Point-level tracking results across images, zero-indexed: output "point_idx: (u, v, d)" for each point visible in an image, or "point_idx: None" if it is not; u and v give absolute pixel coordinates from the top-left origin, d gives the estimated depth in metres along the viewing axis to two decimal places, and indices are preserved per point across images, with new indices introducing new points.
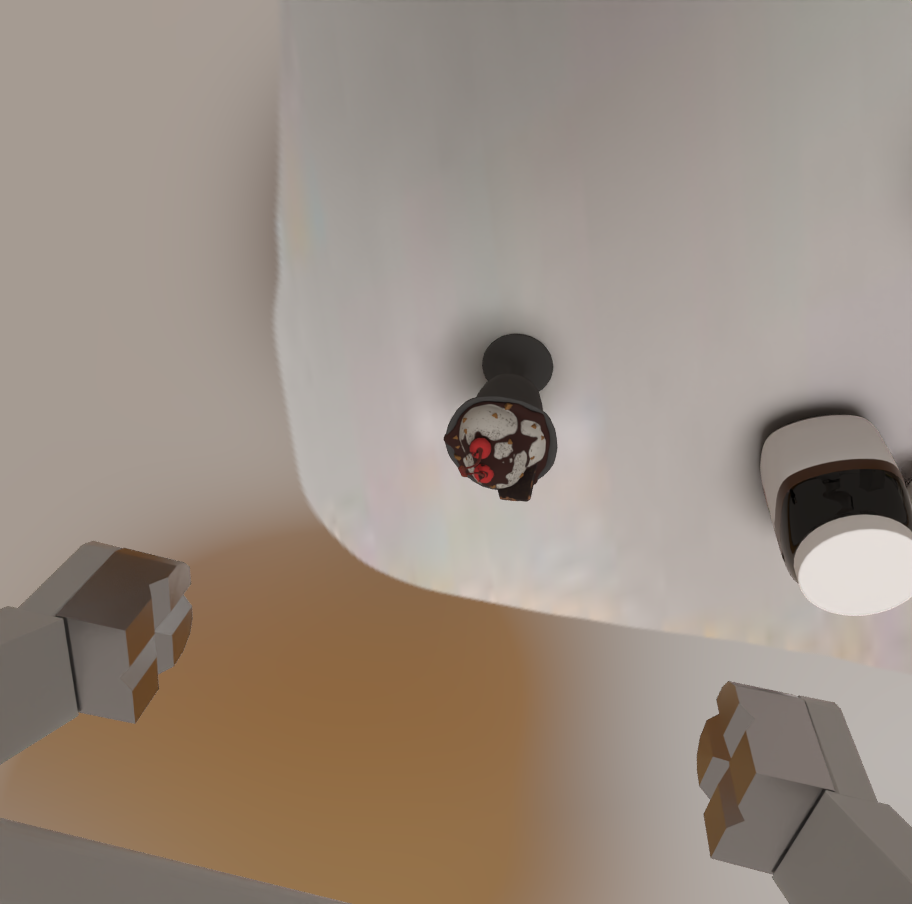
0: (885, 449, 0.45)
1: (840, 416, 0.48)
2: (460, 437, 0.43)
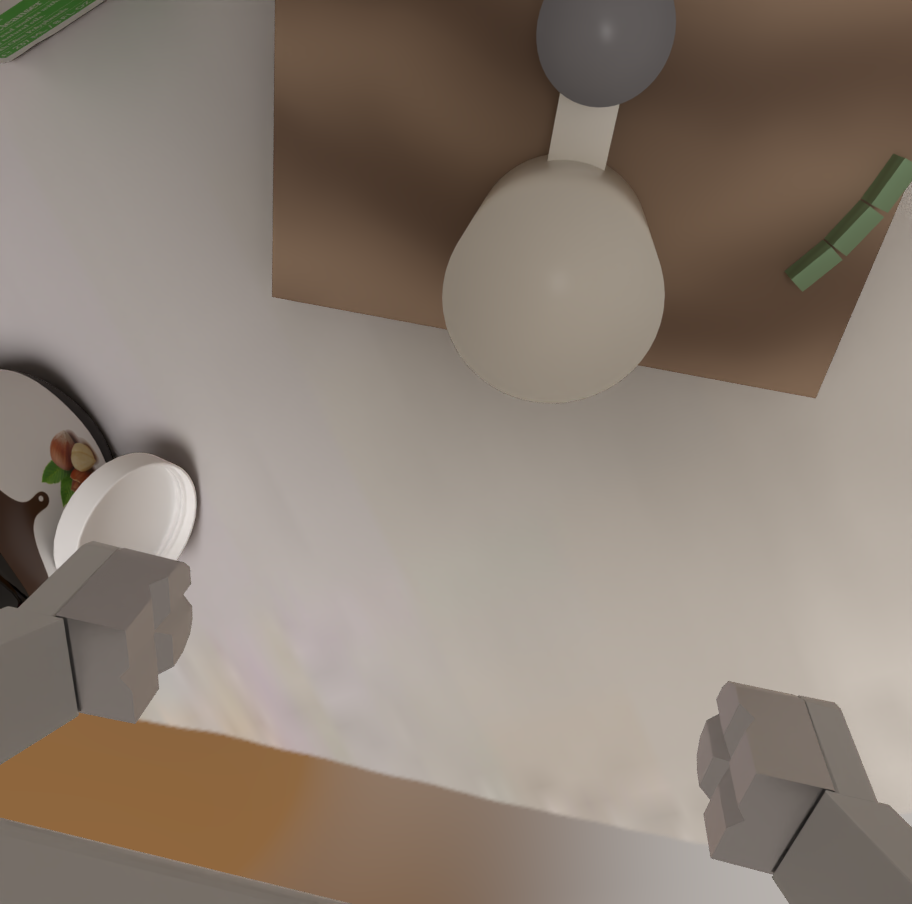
0: None
1: None
2: None
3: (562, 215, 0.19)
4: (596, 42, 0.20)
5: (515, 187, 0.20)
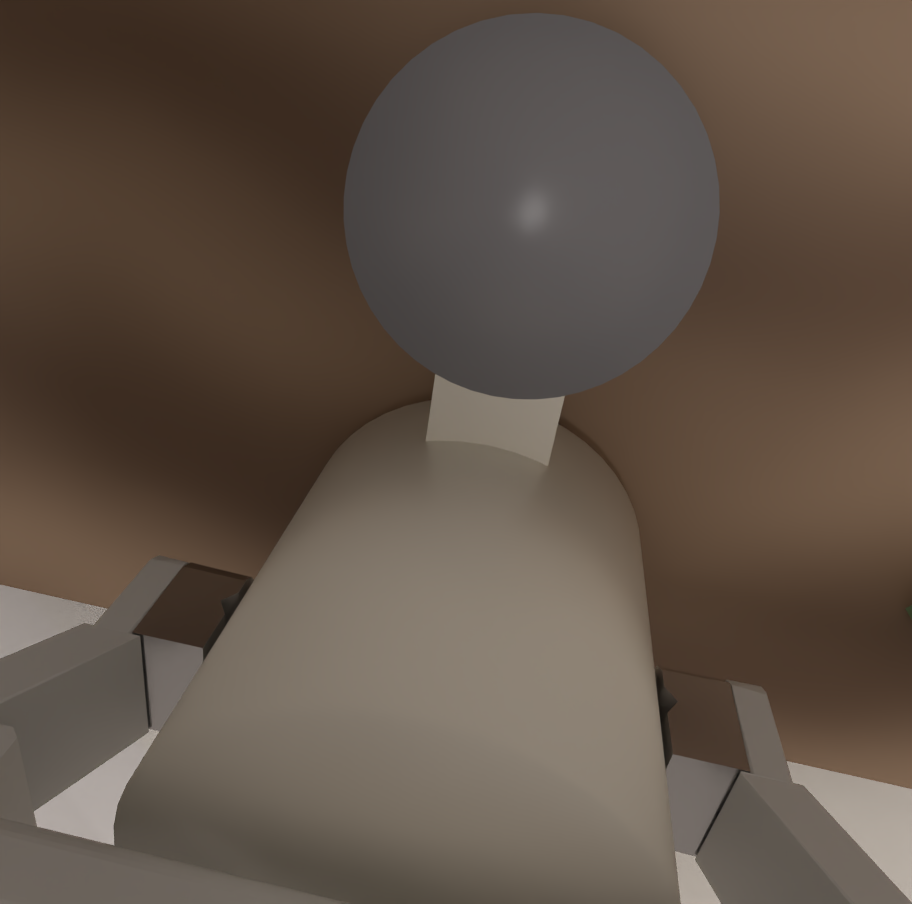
0: None
1: None
2: None
3: (394, 766, 0.07)
4: (502, 253, 0.07)
5: (299, 606, 0.08)
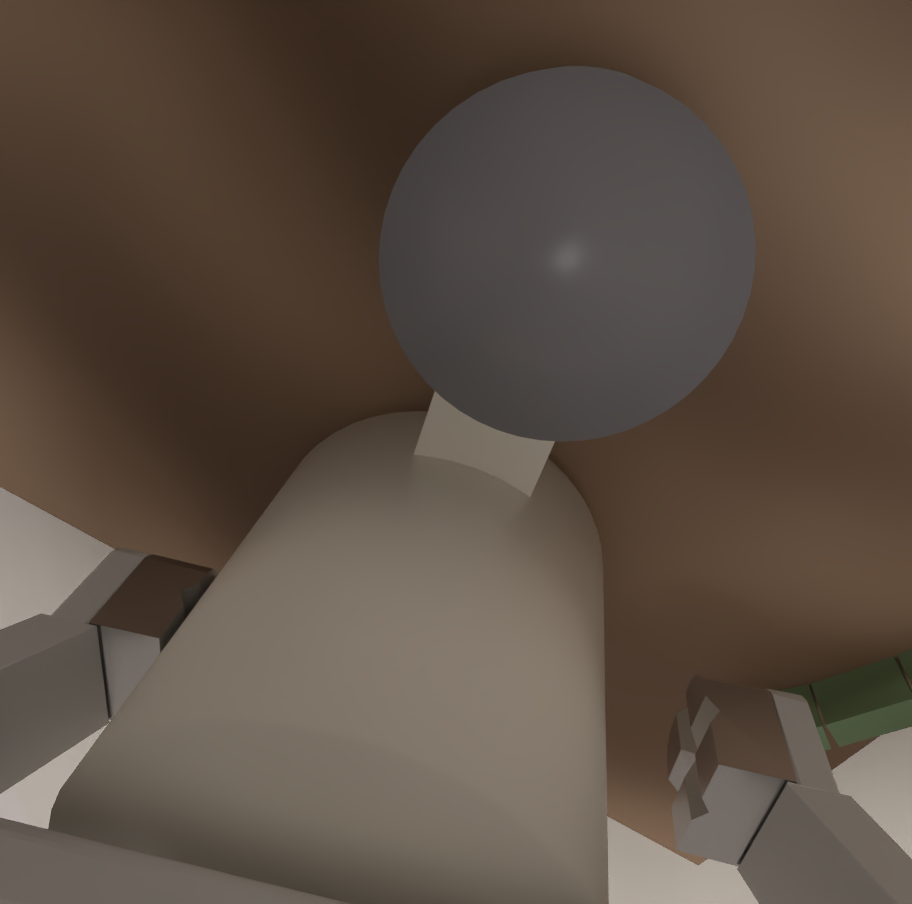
0: None
1: None
2: None
3: (355, 790, 0.07)
4: (533, 294, 0.07)
5: (275, 612, 0.08)
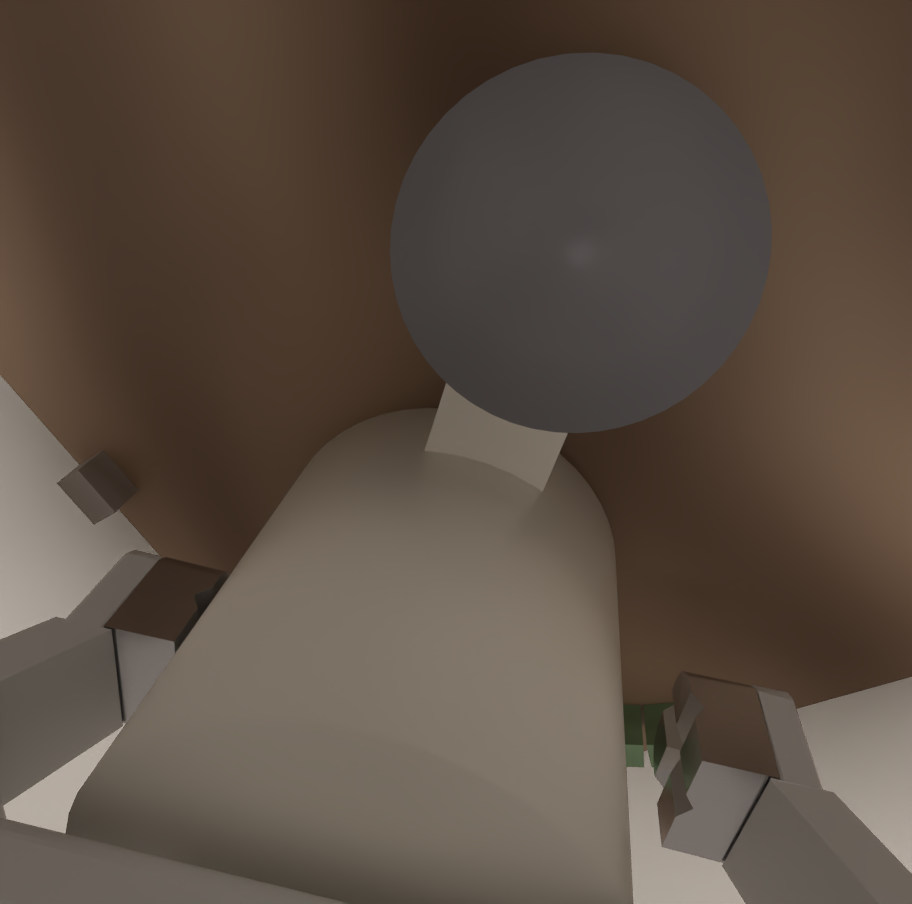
0: None
1: None
2: None
3: (376, 787, 0.07)
4: (546, 284, 0.07)
5: (290, 610, 0.08)
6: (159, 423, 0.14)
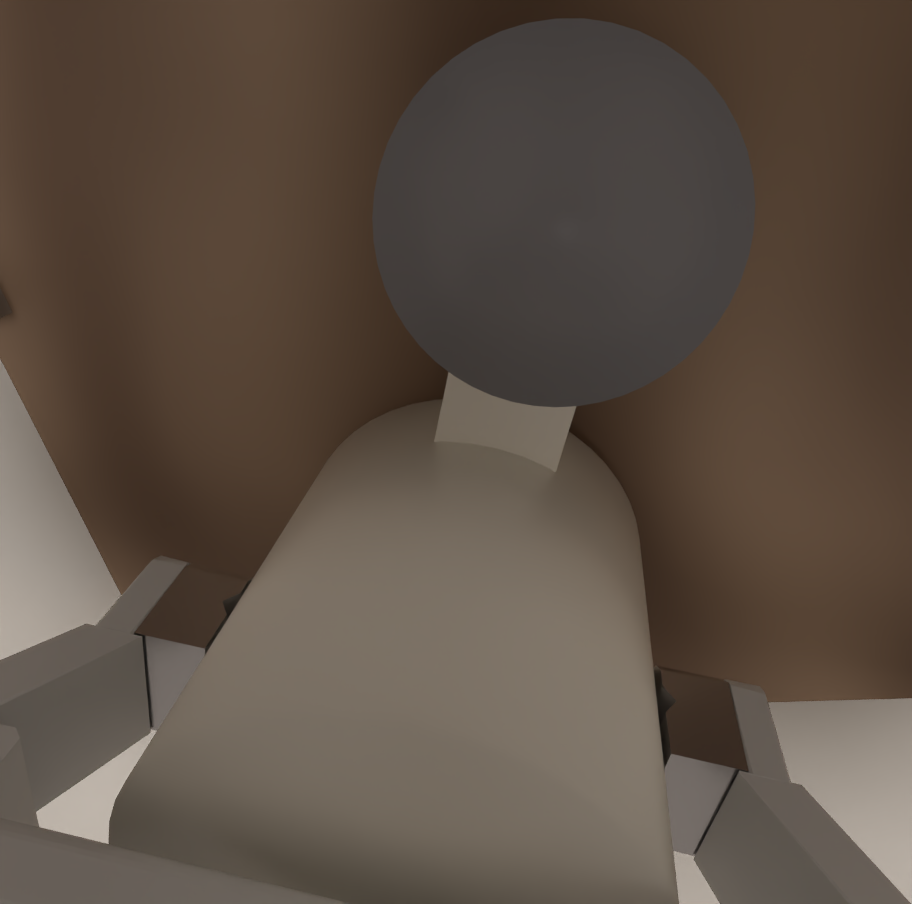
0: None
1: None
2: None
3: (402, 772, 0.07)
4: (532, 258, 0.07)
5: (308, 606, 0.08)
6: (58, 249, 0.12)
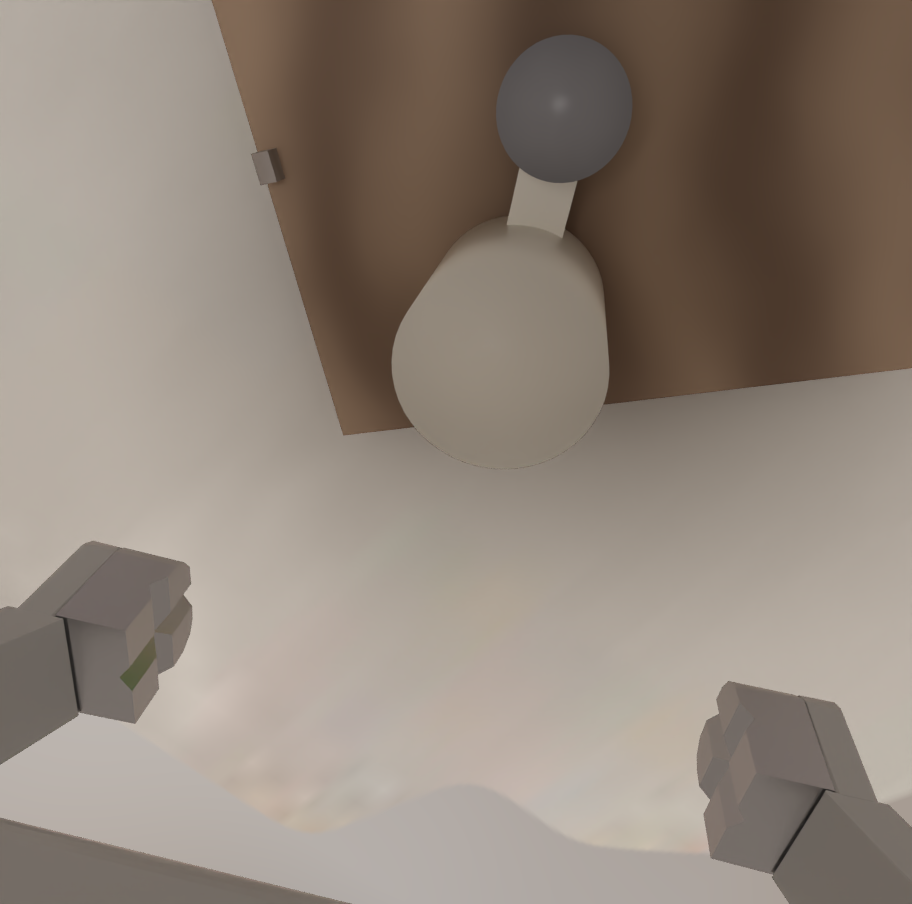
0: None
1: None
2: None
3: (511, 292, 0.19)
4: (554, 120, 0.20)
5: (469, 257, 0.20)
6: (316, 143, 0.25)
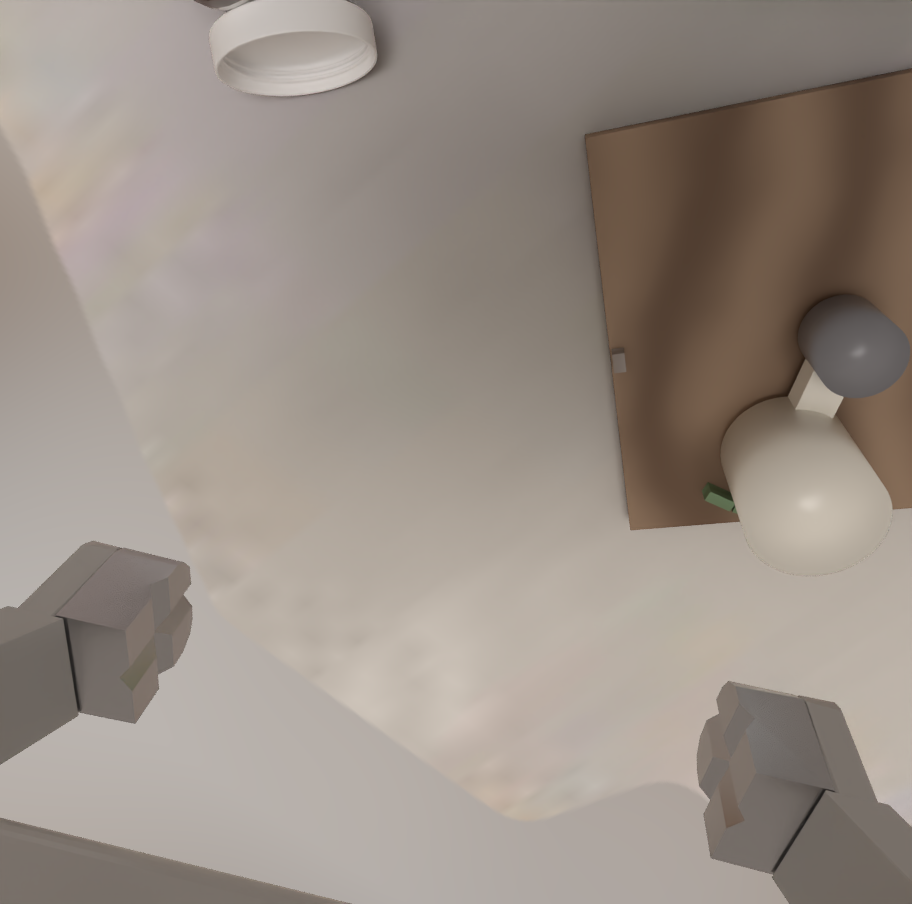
0: None
1: None
2: None
3: (836, 475, 0.31)
4: (856, 364, 0.32)
5: (797, 446, 0.32)
6: (653, 345, 0.37)
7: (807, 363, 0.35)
